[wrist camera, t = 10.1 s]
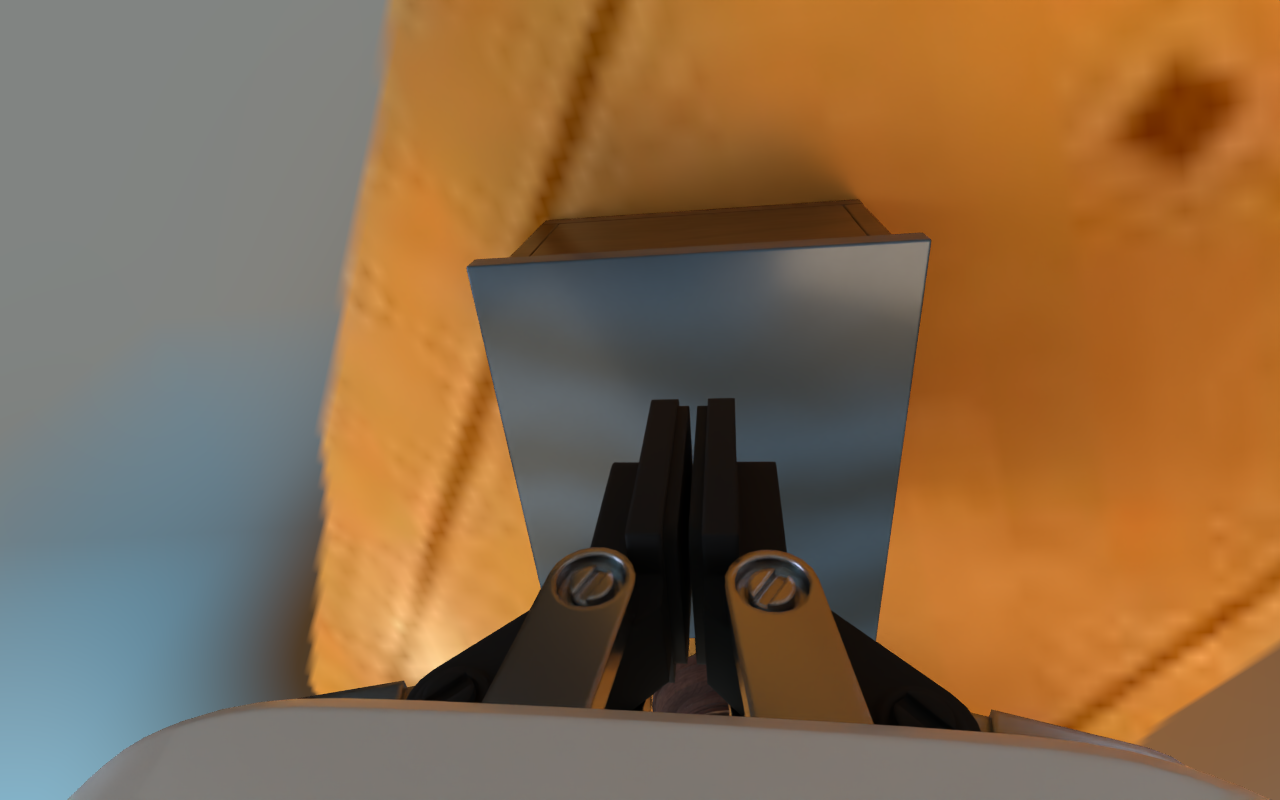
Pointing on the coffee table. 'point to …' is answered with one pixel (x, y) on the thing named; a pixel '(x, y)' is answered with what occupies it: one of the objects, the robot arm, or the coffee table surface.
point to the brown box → (703, 228)
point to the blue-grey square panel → (715, 382)
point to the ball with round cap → (690, 693)
